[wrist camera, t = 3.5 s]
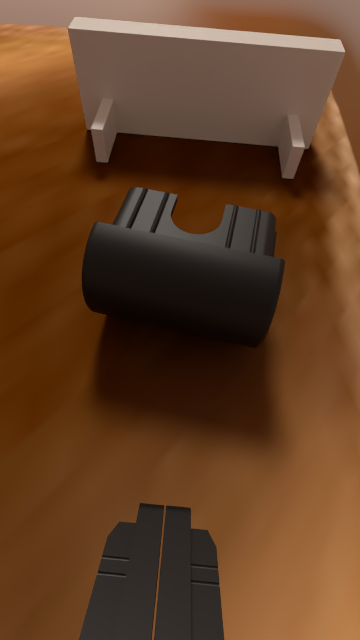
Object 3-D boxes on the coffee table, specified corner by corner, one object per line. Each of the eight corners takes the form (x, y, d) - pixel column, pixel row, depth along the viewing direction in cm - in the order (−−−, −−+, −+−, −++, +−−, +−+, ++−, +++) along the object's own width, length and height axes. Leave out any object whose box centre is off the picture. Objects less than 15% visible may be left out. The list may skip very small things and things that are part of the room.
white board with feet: (74, 159, 31) (50, 55, 24) (92, 116, 35) (75, 16, 28) (314, 180, 31) (358, 82, 24) (305, 135, 35) (340, 39, 28)
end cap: (94, 335, 22) (69, 264, 16) (128, 254, 25) (118, 174, 20) (249, 370, 21) (282, 310, 15) (260, 282, 24) (290, 206, 19)
